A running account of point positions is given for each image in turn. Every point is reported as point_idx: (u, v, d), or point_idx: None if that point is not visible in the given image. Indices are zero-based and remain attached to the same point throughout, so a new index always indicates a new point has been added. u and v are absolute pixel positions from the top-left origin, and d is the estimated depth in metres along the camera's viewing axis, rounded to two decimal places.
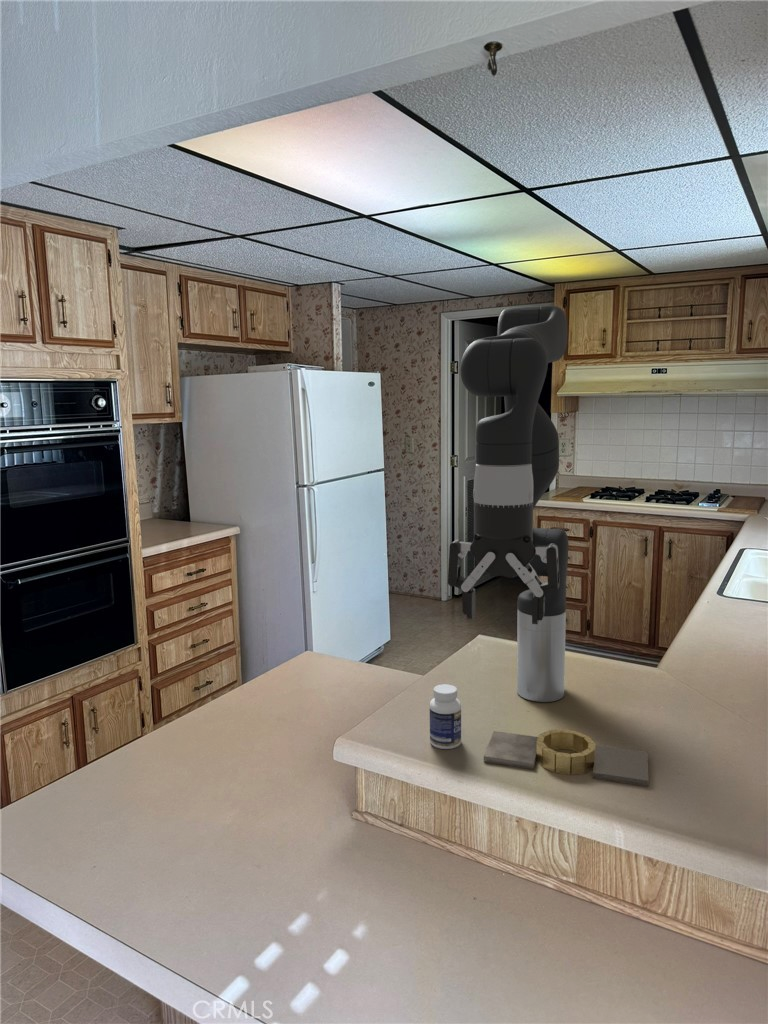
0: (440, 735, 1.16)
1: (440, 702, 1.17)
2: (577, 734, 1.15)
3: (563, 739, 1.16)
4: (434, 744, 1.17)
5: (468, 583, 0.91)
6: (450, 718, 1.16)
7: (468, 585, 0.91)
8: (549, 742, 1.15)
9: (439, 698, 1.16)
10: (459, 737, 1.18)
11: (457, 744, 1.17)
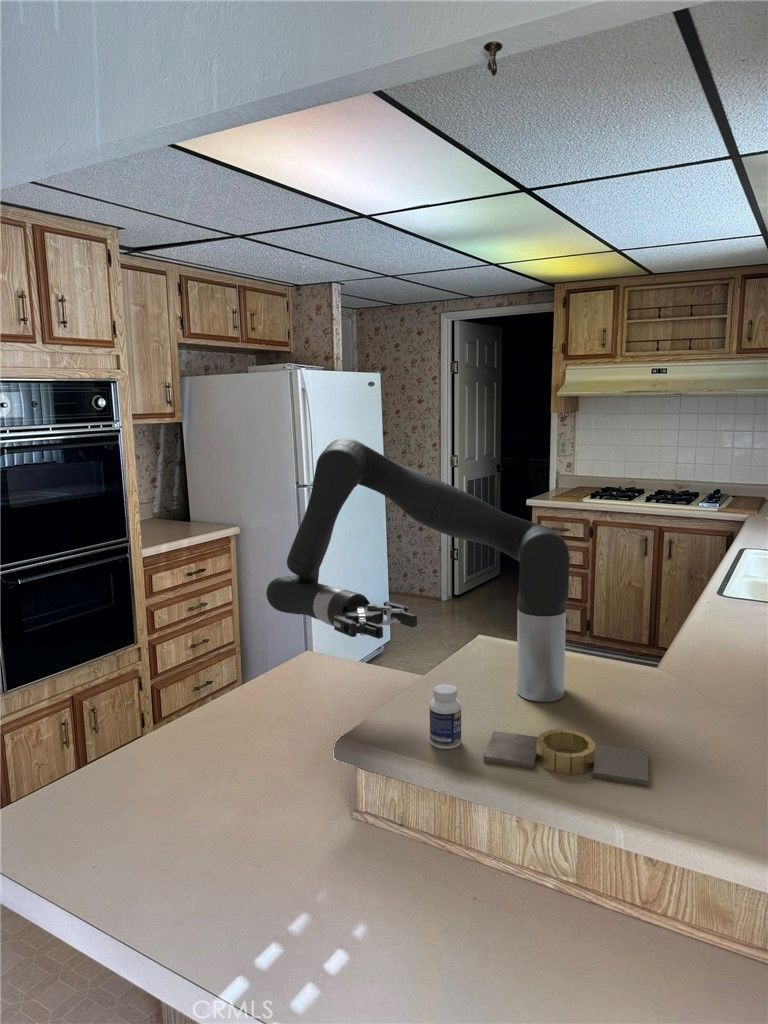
0: (440, 735, 1.16)
1: (440, 702, 1.17)
2: (577, 734, 1.15)
3: (563, 739, 1.16)
4: (434, 744, 1.17)
5: None
6: (450, 718, 1.16)
7: None
8: (549, 742, 1.15)
9: (439, 698, 1.16)
10: (459, 737, 1.18)
11: (457, 744, 1.17)
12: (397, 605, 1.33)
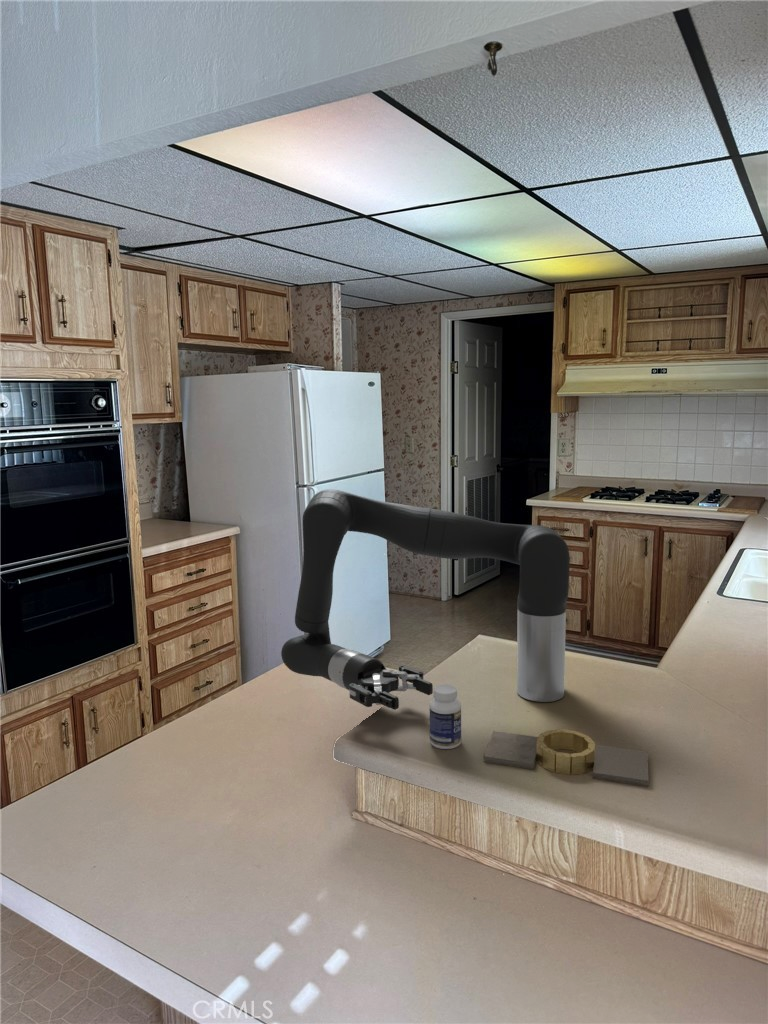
0: (440, 735, 1.16)
1: (440, 702, 1.17)
2: (577, 734, 1.15)
3: (563, 739, 1.16)
4: (434, 744, 1.17)
5: None
6: (450, 718, 1.16)
7: None
8: (549, 742, 1.15)
9: (439, 698, 1.16)
10: (459, 737, 1.18)
11: (457, 744, 1.17)
12: (413, 669, 1.33)
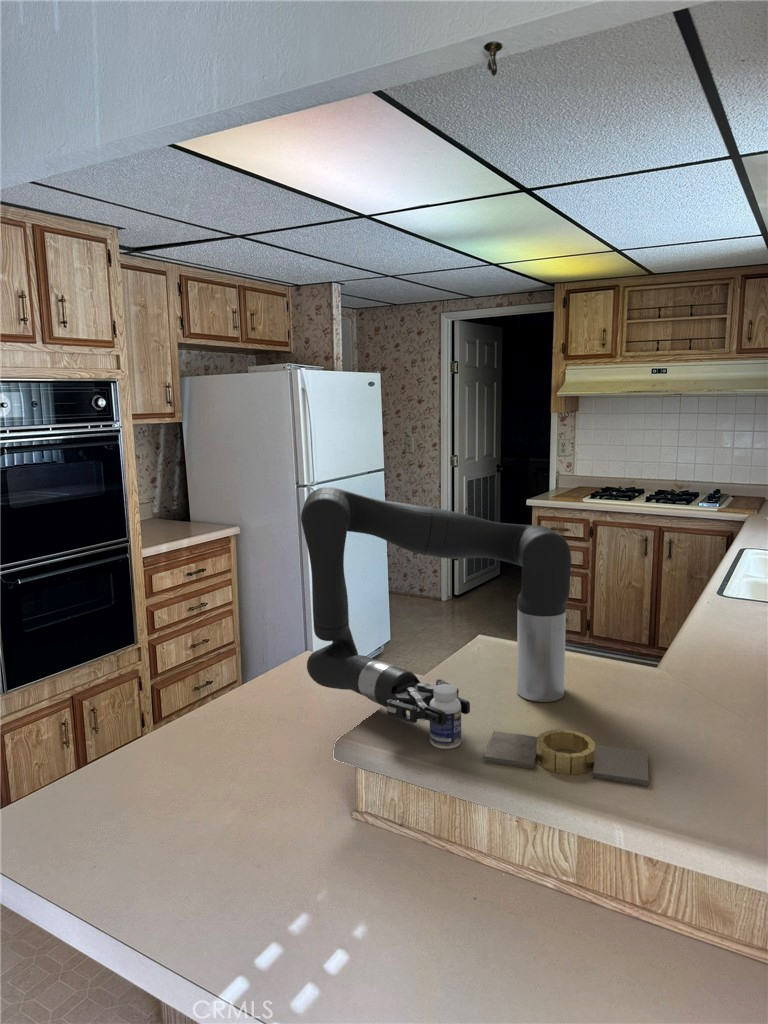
0: (440, 735, 1.16)
1: (440, 702, 1.17)
2: (577, 734, 1.15)
3: (563, 739, 1.16)
4: (434, 744, 1.17)
5: None
6: (450, 718, 1.16)
7: None
8: (549, 742, 1.15)
9: (439, 698, 1.16)
10: (459, 737, 1.18)
11: (457, 744, 1.17)
12: None
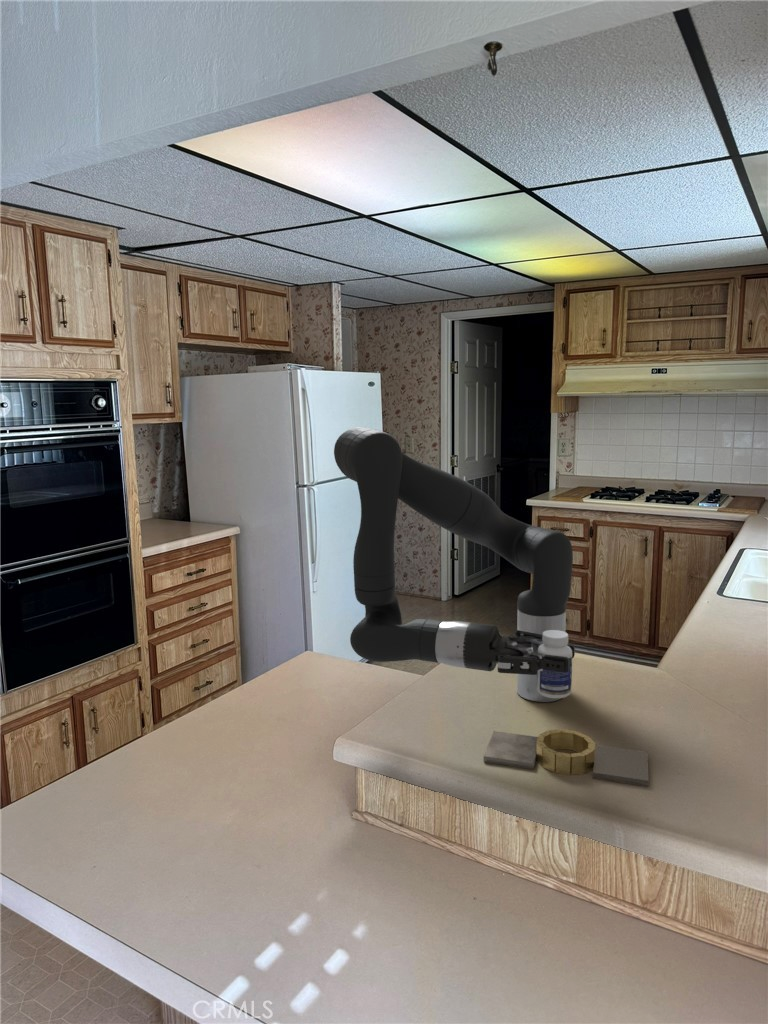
0: (559, 683, 1.08)
1: (556, 648, 1.08)
2: (577, 734, 1.15)
3: (563, 739, 1.16)
4: (550, 695, 1.08)
5: None
6: None
7: None
8: (549, 742, 1.15)
9: (556, 644, 1.08)
10: None
11: (570, 691, 1.10)
12: (534, 634, 1.17)
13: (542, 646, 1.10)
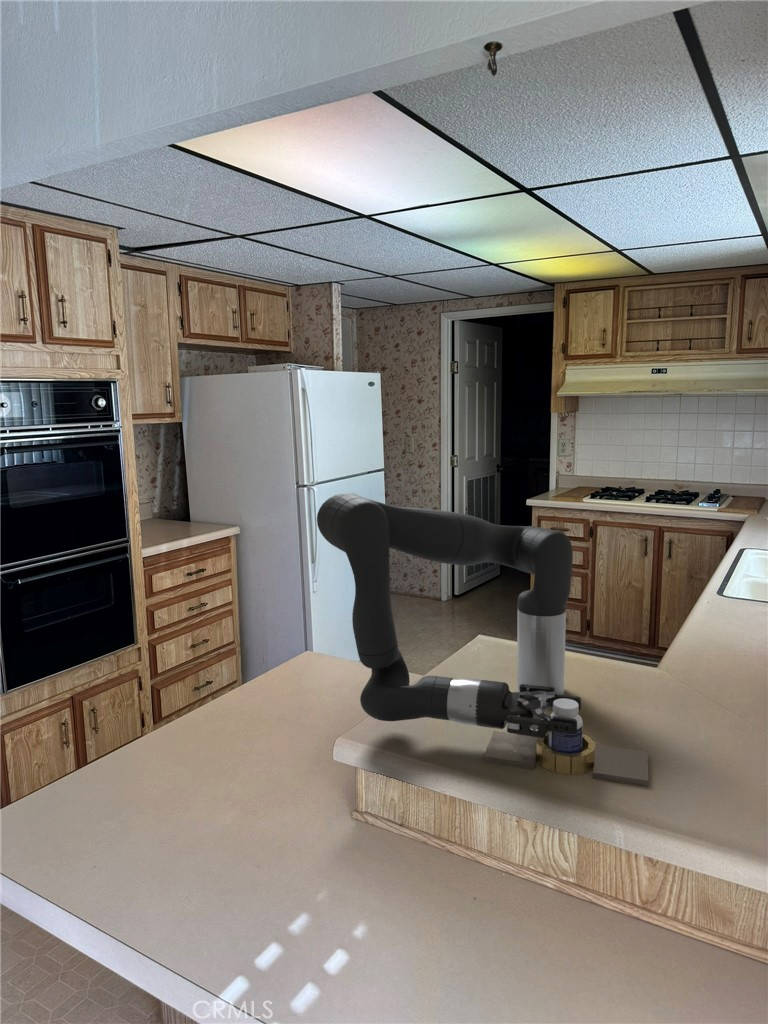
0: (570, 753, 1.10)
1: None
2: None
3: None
4: None
5: None
6: (579, 733, 1.10)
7: None
8: None
9: (567, 714, 1.09)
10: None
11: None
12: (539, 687, 1.19)
13: (553, 715, 1.11)
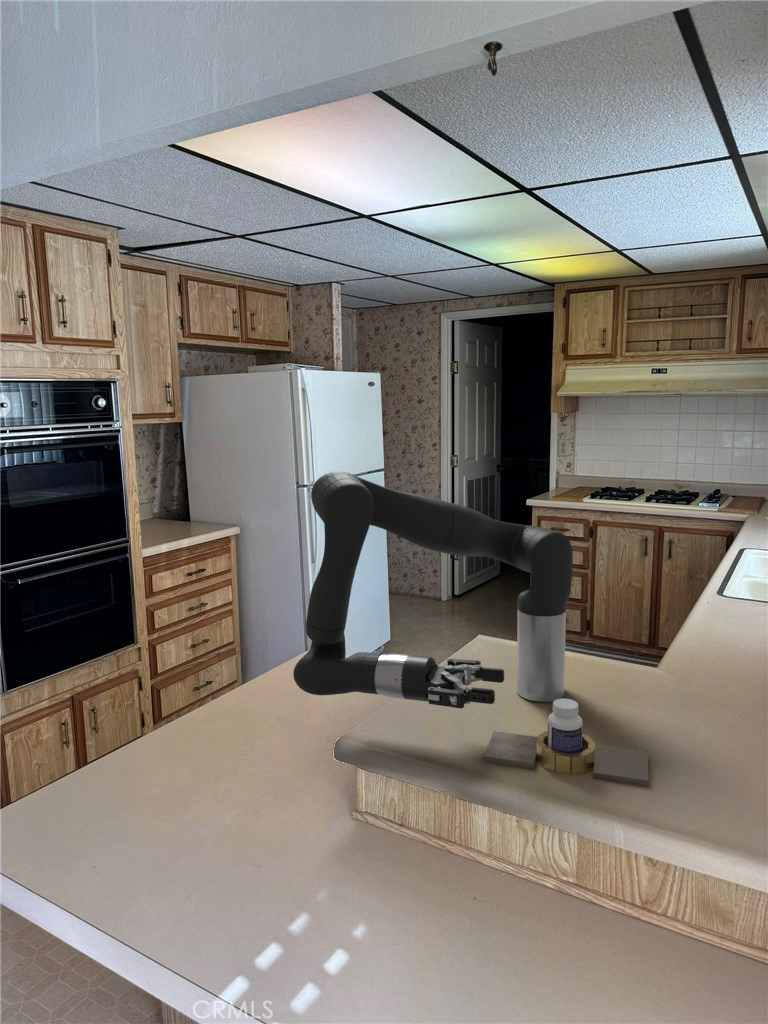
0: (570, 753, 1.10)
1: (567, 718, 1.10)
2: None
3: None
4: None
5: None
6: (579, 733, 1.10)
7: None
8: None
9: (567, 714, 1.09)
10: None
11: None
12: (466, 661, 1.23)
13: (553, 716, 1.11)
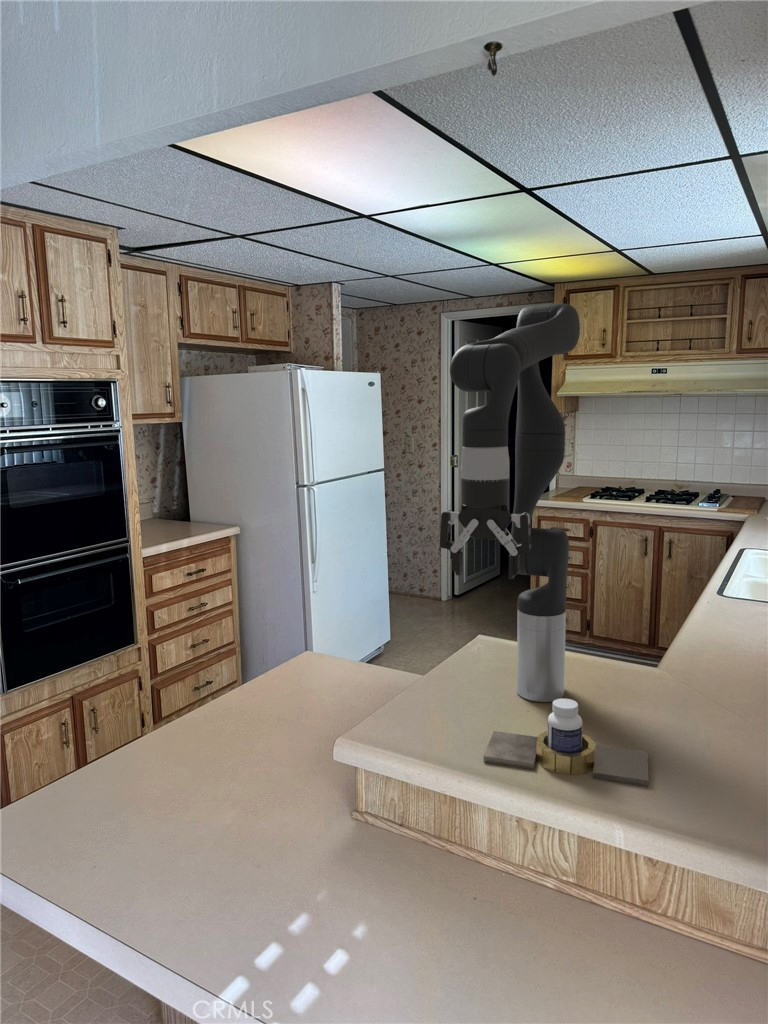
0: (570, 753, 1.10)
1: (567, 718, 1.10)
2: None
3: None
4: None
5: (456, 545, 1.11)
6: (579, 733, 1.10)
7: (456, 547, 1.11)
8: None
9: (566, 714, 1.09)
10: None
11: None
12: None
13: (552, 715, 1.11)
